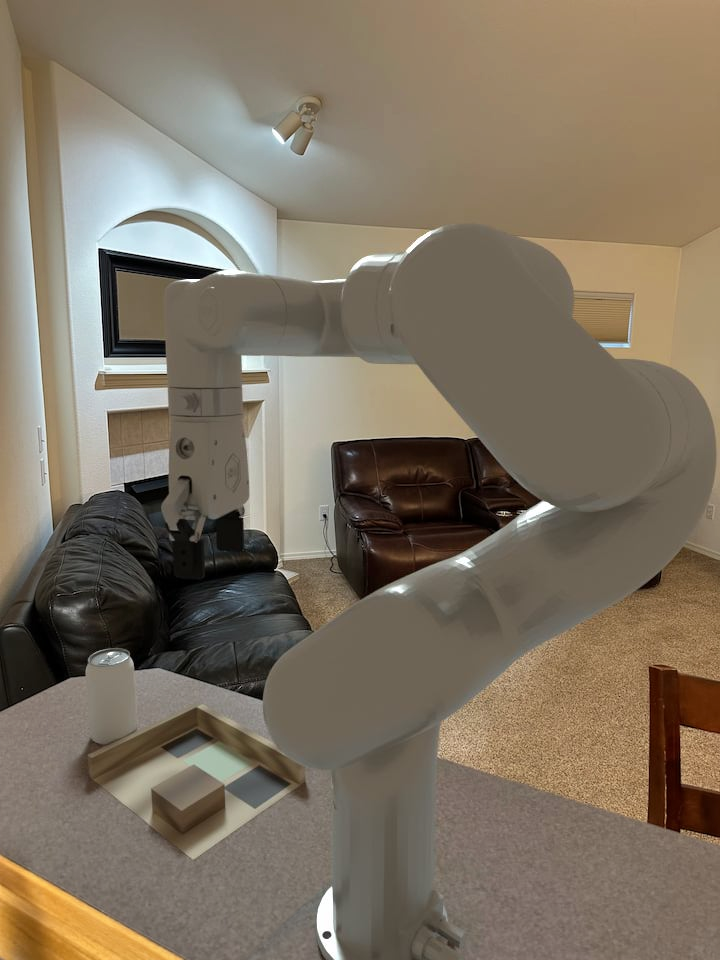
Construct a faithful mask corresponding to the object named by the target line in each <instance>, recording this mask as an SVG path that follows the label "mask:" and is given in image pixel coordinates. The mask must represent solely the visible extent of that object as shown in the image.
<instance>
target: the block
mask: <svg viewBox="0 0 720 960" xmlns="http://www.w3.org/2000/svg"><path fill="white" fill-rule="evenodd" d="M151 796H152V811H153V812H154V813H155V814H157V815H158V816H159V817H161V818H162V819H163V820H164V821H166V822H167V823H168V824H170V825H171V826H172V827H173V828H175V829H176V830H177V831H179V832H180V833H181V834H182V835H183V834H185V833H186V832H188V831H189V830H191V829H192V828H194V827H195V826H197V825H198V824H200V823H201V822H203V821H204V820H206V819H208V818H209V817H211V816H212V815H214V814H215V813H217V812H218V811H220V810H221V809H223V808H224V807H225V784H224V783H222V782H220V781H219V780H217V779H216V778H214V777H213V776H211V775H210V774H208V773H207V772H205V771H203V770H202V769H200V768H199V767H197V766H196V765H194V764H193V765H192V766H190V767H188V768H186V769H184V770H183V771H181V772H179V773H177V774H176V775H174V776H172V777H170V778H169V779H167V780H165V781H163V782H161V783H160V784H158V785H156V786H154V787H153V788H151Z"/></svg>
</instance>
